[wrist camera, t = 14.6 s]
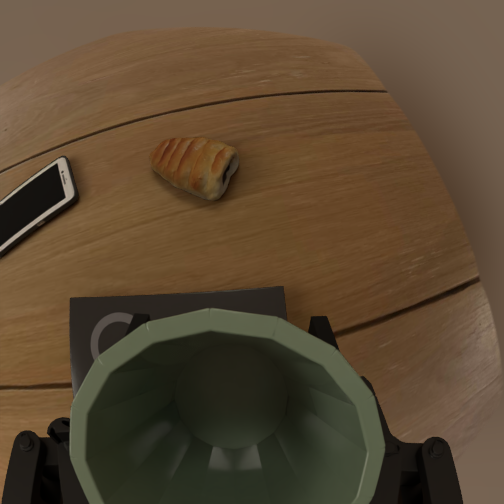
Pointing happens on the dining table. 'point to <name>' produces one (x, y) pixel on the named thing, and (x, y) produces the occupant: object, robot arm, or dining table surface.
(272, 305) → the hob
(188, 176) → the pastry
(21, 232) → the cell phone
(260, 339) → the cup
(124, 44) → the dining table surface
